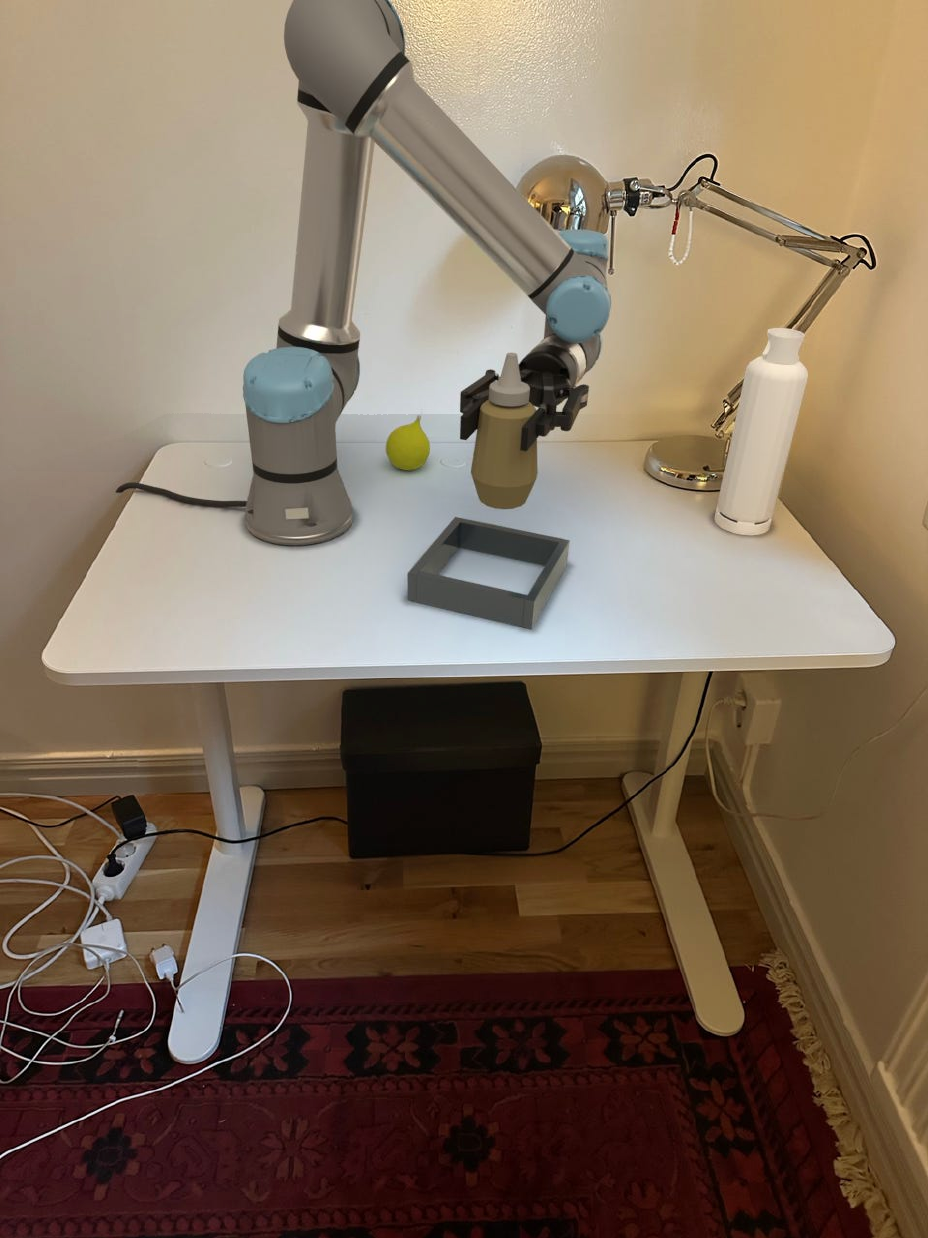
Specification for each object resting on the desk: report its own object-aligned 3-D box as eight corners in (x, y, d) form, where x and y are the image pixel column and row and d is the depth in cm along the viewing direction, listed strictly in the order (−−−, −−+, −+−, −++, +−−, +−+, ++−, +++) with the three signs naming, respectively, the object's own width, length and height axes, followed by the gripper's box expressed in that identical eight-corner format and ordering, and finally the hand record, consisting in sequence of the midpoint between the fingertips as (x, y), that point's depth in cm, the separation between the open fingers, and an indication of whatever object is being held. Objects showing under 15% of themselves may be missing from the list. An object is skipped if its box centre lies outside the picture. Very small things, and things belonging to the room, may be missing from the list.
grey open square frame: (407, 600, 111) (407, 573, 109) (454, 541, 124) (455, 516, 122) (531, 629, 107) (534, 601, 104) (567, 565, 119) (569, 539, 117)
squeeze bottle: (456, 499, 108) (460, 353, 98) (499, 479, 113) (507, 338, 103) (506, 521, 104) (516, 371, 93) (548, 500, 109) (562, 355, 98)
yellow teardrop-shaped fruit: (438, 468, 144) (439, 410, 138) (406, 481, 140) (406, 421, 134) (409, 455, 148) (408, 397, 142) (377, 467, 144) (375, 408, 138)
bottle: (772, 538, 128) (822, 344, 112) (715, 531, 129) (756, 339, 113) (767, 513, 134) (814, 327, 118) (713, 507, 135) (752, 321, 120)
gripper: (619, 411, 116) (574, 480, 98) (479, 388, 121) (413, 450, 103) (626, 354, 112) (581, 415, 94) (482, 333, 117) (413, 387, 99)
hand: (493, 433), depth 98 cm, fingers closed on squeeze bottle, 6 cm apart
